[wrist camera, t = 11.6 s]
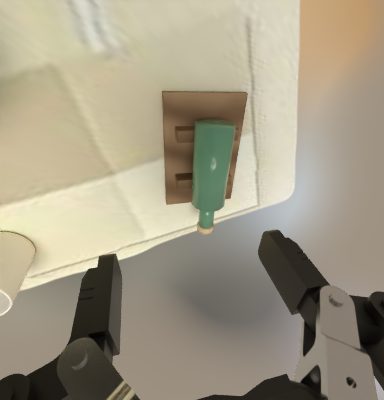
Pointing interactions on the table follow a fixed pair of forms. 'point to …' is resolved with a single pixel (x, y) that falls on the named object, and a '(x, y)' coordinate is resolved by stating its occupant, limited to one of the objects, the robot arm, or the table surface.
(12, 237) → the mug
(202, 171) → the bottle
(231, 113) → the bottle rest
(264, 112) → the table surface
